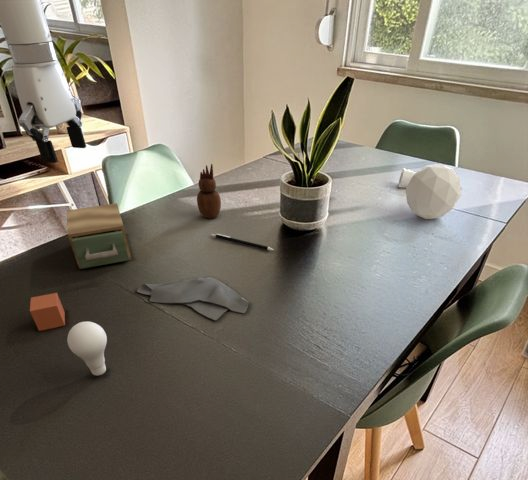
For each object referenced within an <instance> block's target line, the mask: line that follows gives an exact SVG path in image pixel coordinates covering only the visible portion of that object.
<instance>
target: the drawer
mask: <svg viewBox="0 0 528 480" xmlns="http://www.w3.org/2000/svg"><path fill="white" fill-rule="evenodd" d="M72 243H73V246H74V249H75V252H76V255H77V258H78V261H79V264H80V267H81V269H80V270H83V269H88V268H93V267H98V266H103V265H104V266H105V265H109V264H116V263H121V261H122V262H127V261H130V260H129V257H128V253H127V249H126V245H125V241H124V237H123V233H122V231H119V230H113V231H107V232H101V233H95V234H88V235H82V236H76V237H75V238H74V239H72Z"/></svg>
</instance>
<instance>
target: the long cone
mask: <svg viewBox="0 0 528 480" xmlns="http://www.w3.org/2000/svg"><path fill="white" fill-rule="evenodd" d="M417 172H418V171H414V170H410V169H407V168H403V169H402V170H401V173H400V176H399V179H398V184H397V186H398V188H406V187H407V186H408V184H409V182H410V180H411V179H412V177H413V175H414V174H415V173H417Z"/></svg>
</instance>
